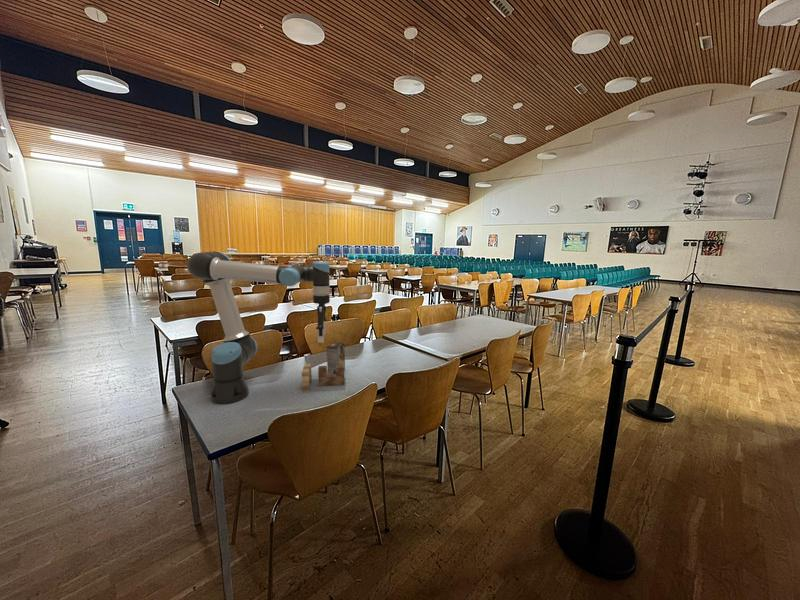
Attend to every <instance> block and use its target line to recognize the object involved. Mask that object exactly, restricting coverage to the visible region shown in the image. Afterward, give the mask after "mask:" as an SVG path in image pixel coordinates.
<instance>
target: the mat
mask: <svg viewBox="0 0 800 600" xmlns="http://www.w3.org/2000/svg"><path fill="white" fill-rule="evenodd" d="M344 378H345V384H344V385H337V386H319V378H316V379H315V378H314V379H313V378H312V382H311V384H310V389H309V390H303V389H302V388H301V391H300V393H317V392H335V391H336V392H337V391H346V383H347V382H346V381H347V378H346V377H344Z"/></svg>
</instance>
